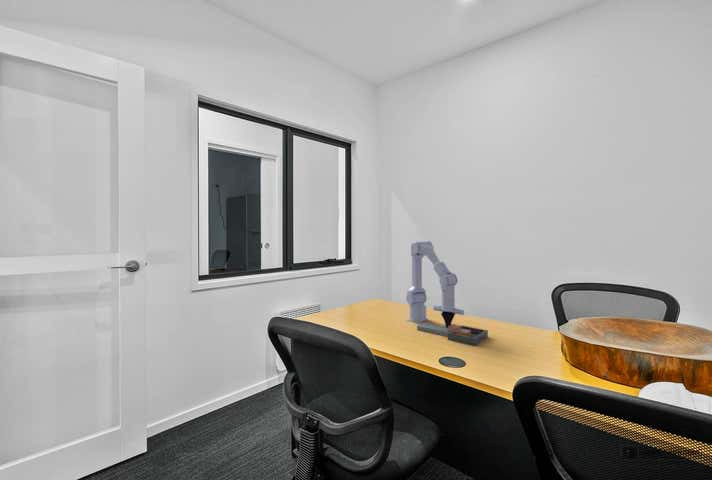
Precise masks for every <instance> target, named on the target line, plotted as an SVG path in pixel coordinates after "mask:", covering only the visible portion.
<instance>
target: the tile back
mask: <svg viewBox="0 0 712 480" xmlns="http://www.w3.org/2000/svg"><path fill="white" fill-rule="evenodd" d="M460 329H461V325H460V324H455V323H451V325H449V326H448V331H450V332H454V333H457V331H458V330H460Z"/></svg>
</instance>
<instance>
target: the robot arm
mask: <svg viewBox="0 0 712 480" xmlns="http://www.w3.org/2000/svg"><path fill="white" fill-rule="evenodd" d="M410 255H411V287H409V288H408V289H407V293H406V299H405V300H406V302H407V303H408V305H409V318H408V319H406V321H407V322H412V323H415V324H422V323H424V322H426V321H427V320H428V318H427V306H426V305H425V303H426V302H427V300H428V299H427V298H428V297H427V294H426V289H425V288H423V286H422V285H423V281H422V280H423V278H422V277H423V276H422V275H423V272H422V271H423V270H422V269H423V268H422V267H423V262H422V261H423V260H422V259H423V258H424V257H425V256H426V258H427V259H428V260H430V262H431V263H432V265H433V271H434V272H435V273H436V275H437V276H438V278H439V284H440V289H441V305H434V306H433V311H434V312H435V311H437V312H441V313H440V314H441V317H442V318H443V320H444V324H445V325H444V326H446V328H448V326H449V325H451V324H452V322H453V319H454V317H455V316H456V315H460V316H464V315H465V311H464V309H460V308H457V307H456V306H455V305H456V304H455V303H456V301H455V298H456V297H455V295H456V294H455V287H456V285H457V283H458V277H457V275H456V274H455V273H453V272H451V271H450V270H449V268H448V267H447V265H446V264H445V262H443V261H440V259H439V257H438V256H437V254H436V252H435V250H434V245H433V243H432V241H430V240H428V241H425V240H424V241H413V242H412V244H411V245H410Z"/></svg>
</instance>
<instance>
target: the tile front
mask: <svg viewBox="0 0 712 480" xmlns="http://www.w3.org/2000/svg"><path fill="white" fill-rule="evenodd" d="M457 334H459V335H463V336H468V337H470V336H471V330H466V329H460V330H458V331H457Z"/></svg>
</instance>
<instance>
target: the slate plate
mask: <svg viewBox="0 0 712 480" xmlns="http://www.w3.org/2000/svg"><path fill="white" fill-rule="evenodd" d="M416 330H417V331H421V332H424V333H431V334H433V335H434V334H435V335H438V336H442V337H443V336H444V337H447V338H448V333H449V332H450V331H448V328H446V325H440V324H435V323H431V322H426V321H423V322H421V323H419V324H418V325H417V326H416ZM450 333H454V332H450ZM454 334H456V333H454Z"/></svg>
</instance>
